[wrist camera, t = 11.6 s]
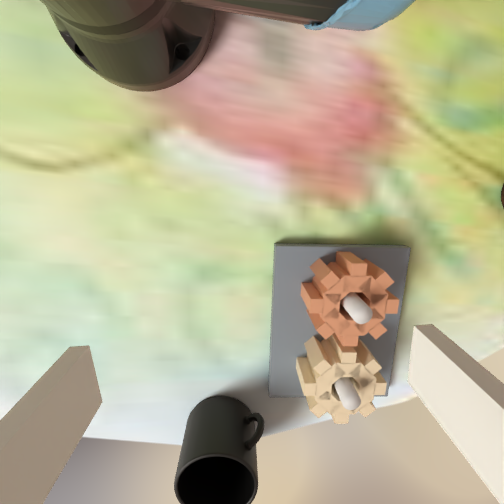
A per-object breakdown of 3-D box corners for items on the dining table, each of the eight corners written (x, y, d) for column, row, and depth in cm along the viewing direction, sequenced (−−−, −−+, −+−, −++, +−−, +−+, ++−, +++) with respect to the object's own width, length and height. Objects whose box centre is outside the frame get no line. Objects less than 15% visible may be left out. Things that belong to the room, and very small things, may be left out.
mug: (282, 415, 42) (292, 477, 34) (218, 460, 44) (212, 531, 35) (238, 371, 40) (238, 426, 32) (173, 420, 42) (155, 485, 33)
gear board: (274, 243, 36) (284, 263, 28) (403, 245, 37) (451, 264, 29) (268, 389, 41) (275, 442, 33) (382, 388, 42) (417, 440, 34)
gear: (303, 250, 35) (313, 263, 30) (382, 252, 35) (405, 264, 30) (298, 324, 37) (307, 346, 32) (372, 324, 38) (392, 346, 33)
